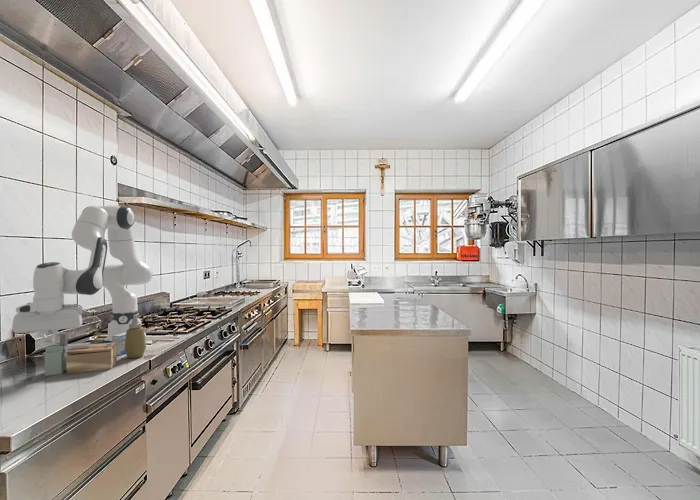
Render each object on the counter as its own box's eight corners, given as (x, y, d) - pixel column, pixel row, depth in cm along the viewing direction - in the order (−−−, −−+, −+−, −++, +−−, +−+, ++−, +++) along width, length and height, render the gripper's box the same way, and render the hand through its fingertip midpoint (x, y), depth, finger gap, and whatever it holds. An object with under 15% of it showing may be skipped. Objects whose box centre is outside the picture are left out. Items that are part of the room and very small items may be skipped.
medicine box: (120, 355, 154) (120, 335, 154) (111, 355, 155) (111, 335, 155) (134, 350, 162) (134, 331, 161) (126, 350, 162) (126, 331, 162)
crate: (75, 366, 140) (75, 348, 140) (116, 361, 145) (116, 344, 145) (66, 374, 130) (66, 355, 130) (111, 369, 136) (111, 351, 136)
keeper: (52, 369, 136) (51, 343, 136) (67, 368, 138) (67, 342, 137) (44, 375, 129) (44, 348, 129) (61, 373, 131) (61, 346, 131)
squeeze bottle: (123, 360, 147) (123, 317, 147) (125, 355, 154) (125, 314, 154) (145, 357, 150) (145, 316, 150) (146, 352, 158) (146, 313, 158)
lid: (75, 347, 140) (75, 344, 140) (116, 344, 145) (116, 341, 145) (66, 354, 130) (66, 350, 130) (110, 350, 136) (111, 347, 136)
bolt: (62, 348, 135) (62, 333, 135) (90, 345, 139) (90, 330, 139) (60, 350, 133) (60, 334, 133) (88, 347, 136) (88, 332, 136)
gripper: (84, 302, 139) (84, 337, 139) (18, 306, 131) (18, 342, 131) (80, 304, 134) (80, 340, 134) (10, 308, 125) (10, 347, 125)
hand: (48, 341), depth 132 cm, fingers closed
